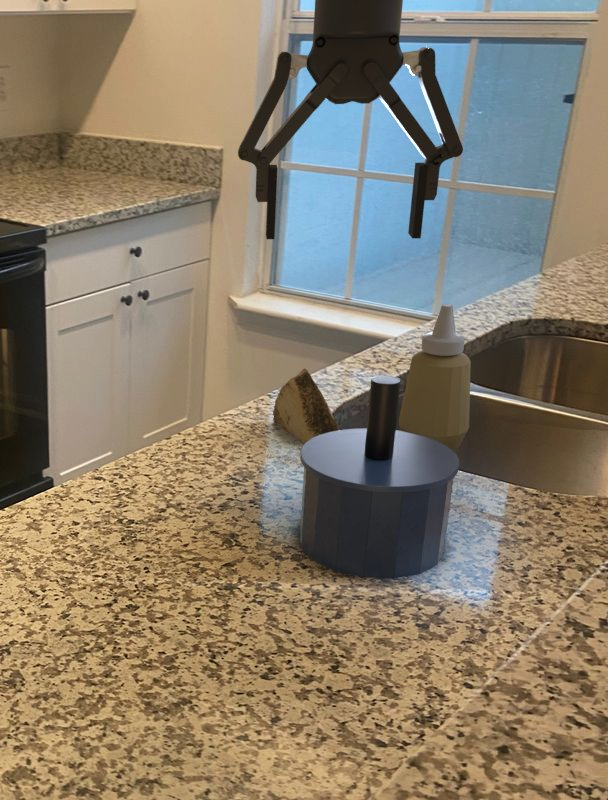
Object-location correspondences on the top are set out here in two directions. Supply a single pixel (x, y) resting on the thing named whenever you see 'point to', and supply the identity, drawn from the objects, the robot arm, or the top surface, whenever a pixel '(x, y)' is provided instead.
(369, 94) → the robot arm
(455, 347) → the squeeze bottle
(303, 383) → the rock
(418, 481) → the pot lid
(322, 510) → the pot
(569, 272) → the top surface
